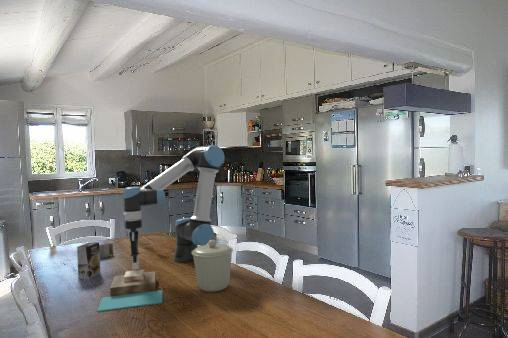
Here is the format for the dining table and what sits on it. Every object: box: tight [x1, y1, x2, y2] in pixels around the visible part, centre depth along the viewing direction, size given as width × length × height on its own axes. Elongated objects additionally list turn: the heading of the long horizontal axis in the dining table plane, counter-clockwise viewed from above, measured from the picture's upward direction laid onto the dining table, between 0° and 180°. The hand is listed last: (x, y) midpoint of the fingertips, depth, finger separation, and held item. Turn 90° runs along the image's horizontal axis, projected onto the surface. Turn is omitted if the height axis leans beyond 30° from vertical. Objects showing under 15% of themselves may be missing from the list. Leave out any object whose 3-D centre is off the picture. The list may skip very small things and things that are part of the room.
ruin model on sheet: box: [99, 242, 114, 259], centre depth 210 cm, size 11×3×10 cm, turn 131°
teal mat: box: [96, 289, 163, 313], centre depth 143 cm, size 24×13×1 cm, turn 105°
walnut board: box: [109, 271, 157, 297], centre depth 158 cm, size 18×16×4 cm
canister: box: [192, 239, 234, 293], centre depth 154 cm, size 18×18×21 cm
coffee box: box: [76, 241, 101, 280], centre depth 176 cm, size 9×6×16 cm
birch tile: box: [124, 269, 145, 282], centre depth 160 cm, size 8×8×2 cm
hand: (135, 268), depth 169 cm, fingers closed
